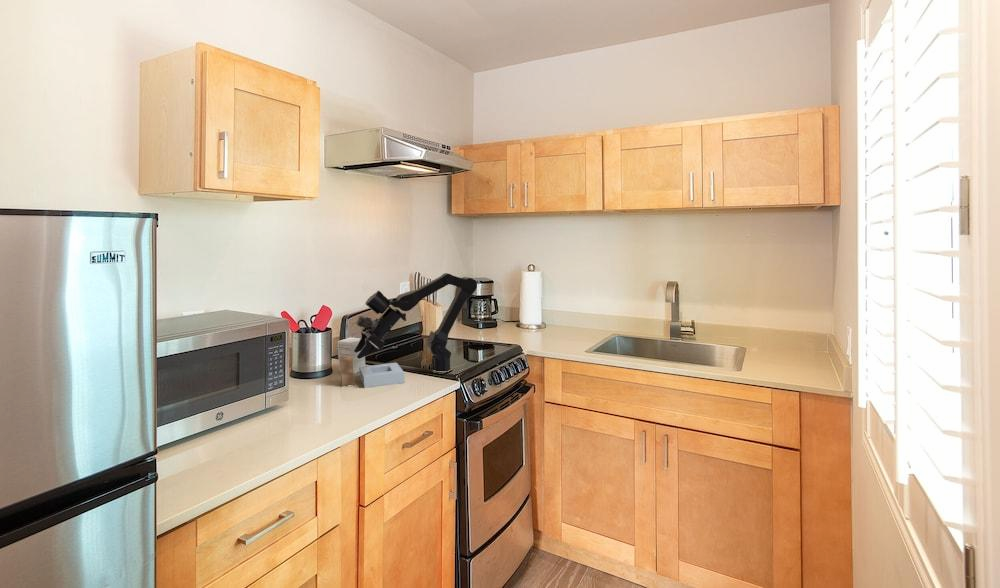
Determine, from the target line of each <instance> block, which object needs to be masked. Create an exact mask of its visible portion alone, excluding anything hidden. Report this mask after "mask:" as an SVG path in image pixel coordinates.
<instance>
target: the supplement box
mask: <svg viewBox="0 0 1000 588" xmlns="http://www.w3.org/2000/svg"><path fill="white" fill-rule="evenodd" d="M360 339H361V337H360V338H359V337H347V338H344V339H341V340H337V344H336V345H337V354H338V355H337V356H338V369H339V371H338V372H339V373H341V368H340V357H342V356H352V358H353V374H354V373H355V374H357V373H359V367H363V366H366V356H364V357H362V358H360V359H359V358H357V356H358V354H359V353H360V351H359V352H357V353H356V352H354V350H355V348H356V346H357V345H358V343H359V341H360ZM355 374H354V375H355Z"/></svg>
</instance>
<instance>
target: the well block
mask: <svg viewBox="0 0 1000 588" xmlns="http://www.w3.org/2000/svg"><path fill="white" fill-rule="evenodd" d="M358 373H359V379H360V381H361V384H362V385H364V386H363V387H364V389H368V388H367V387H370V388H376V387H383V386H384V387H385V386H391V385H398V384H405V372H404V370H403V368H402V367H401V366H400V365H399V364H398V363H397V362H391V363H390V362H389V363H382V364H373V365H365V366H363V367H359V372H358Z"/></svg>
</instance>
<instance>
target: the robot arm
mask: <svg viewBox="0 0 1000 588" xmlns="http://www.w3.org/2000/svg"><path fill="white" fill-rule="evenodd" d="M448 285H451V286H454V287H455V293H454V298H453V300H452V301H451V303H450V305H449V307H448V309H447V310H446V313H445V315H444V316H443V318H442V321H441V322H440V324H439V326H438V328H437V329H436V330H435V331H432V330H431V331H430V332H429V335H428V336H427V338H426V349H427V350H429V352H431V354H432V357H431V370H432V369H433V370H436V371H448V370H450V369H451V356H452V352H451V351H450V350H449V349H447V346H448V345H447V344H448V339H449V334H450V332H451V330H452V328H453V326H454V324H455V322H456V320H457V318H458V316H459V314H460V312H461V311H462V309H463V307H464V305H465V303H466V302H467V300H469V299H470V298H471V297H472V296H473V295H474V293H475V291H476V290H477V288H478V283H477V282H476V279H474V278H471V277H467V276H463V277H459V276H456V275H453V274H450V273H448V272H445V273H442V274H441V275H440V276H439V277H437V278H435V279H433V280H431V281H429V282H427V283H425V284H424V285H422V286H420V287H418V288H417V289H413V290H410V291H406V292H403V293H401V294H398V295H397V296H396V297H394V298H387V296H385V295H384V293H382V292H381V291H380V290H377V291H376V292H374V293H373V294H372V295H370V296H369V297H368V298H367V300H366V301H365V304H364V305H365V306H367V307H368V308H369V309H371V311H373V312H374V313H375V314H376V315H378V314H381V315H380V317H379V318H375V319H374V320H373V319H371V317H369V316H363V315H359V316H358V318H357V321H356V326H358V327H360V328H361V331H360V336H361V337H360V338H361V339H360V341H359V343H358V345H357V346H356V348H355V350H354V352H356V353H357V352H359V351H360V353H359V354H358V356H357V358H359V359H360V358H362V357H364V356H365V357H366V356H368V355H371V354H372V353H375V352H378V351H382V350H383V348H384V347H385V346H386V345H385V341H384V338H385V336H386V335H387V334H388V333H391V332H392V328H394V326H395V325H396V324H397V323H398V321H400V319H401V320H402V321H403V322H406V321H407V313H405V312H409V311H411V310H412V309H414V308H415V307H416V306H417V305H418V304H419V303H420V302H421V301H422V300H424V299H425V298H427V297H428V296H430V295H432V294H434V293H435V292H438V291H439V290H441V289H443V288H444V287H446V286H448ZM391 306H392V307H393V308H394V309H393V308H392V307H391ZM400 310H401V311H403V312H401V311H400Z"/></svg>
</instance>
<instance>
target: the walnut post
mask: <svg viewBox="0 0 1000 588" xmlns="http://www.w3.org/2000/svg"><path fill="white" fill-rule="evenodd" d="M340 368H341V372H340V382H341V383H342V384H341V387H342V386H346V387H349V386H348V385H353V386H355V378H354V375H355V374H353V358H352V356H342V357H340Z"/></svg>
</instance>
